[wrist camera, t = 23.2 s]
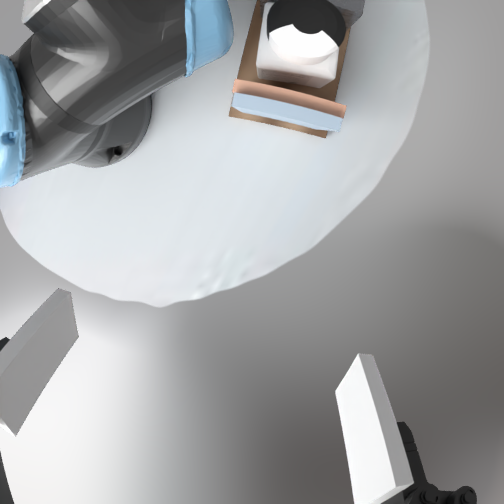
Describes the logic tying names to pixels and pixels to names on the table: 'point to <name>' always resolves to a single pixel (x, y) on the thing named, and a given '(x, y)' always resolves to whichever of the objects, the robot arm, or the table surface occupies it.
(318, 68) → the container
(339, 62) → the shelf
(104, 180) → the table surface
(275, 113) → the books
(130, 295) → the table surface
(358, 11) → the bookend
